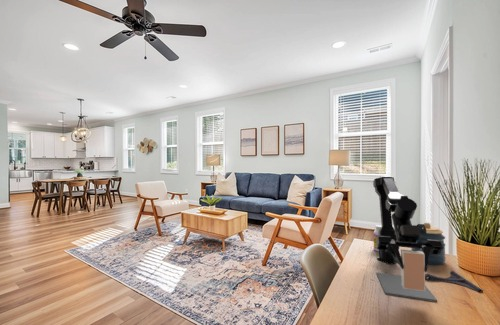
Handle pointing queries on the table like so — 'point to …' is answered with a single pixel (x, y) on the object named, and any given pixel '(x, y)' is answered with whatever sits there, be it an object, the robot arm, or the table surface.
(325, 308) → the table surface
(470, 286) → the bracket
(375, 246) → the supplement bottle
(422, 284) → the tile
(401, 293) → the mat
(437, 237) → the canister
